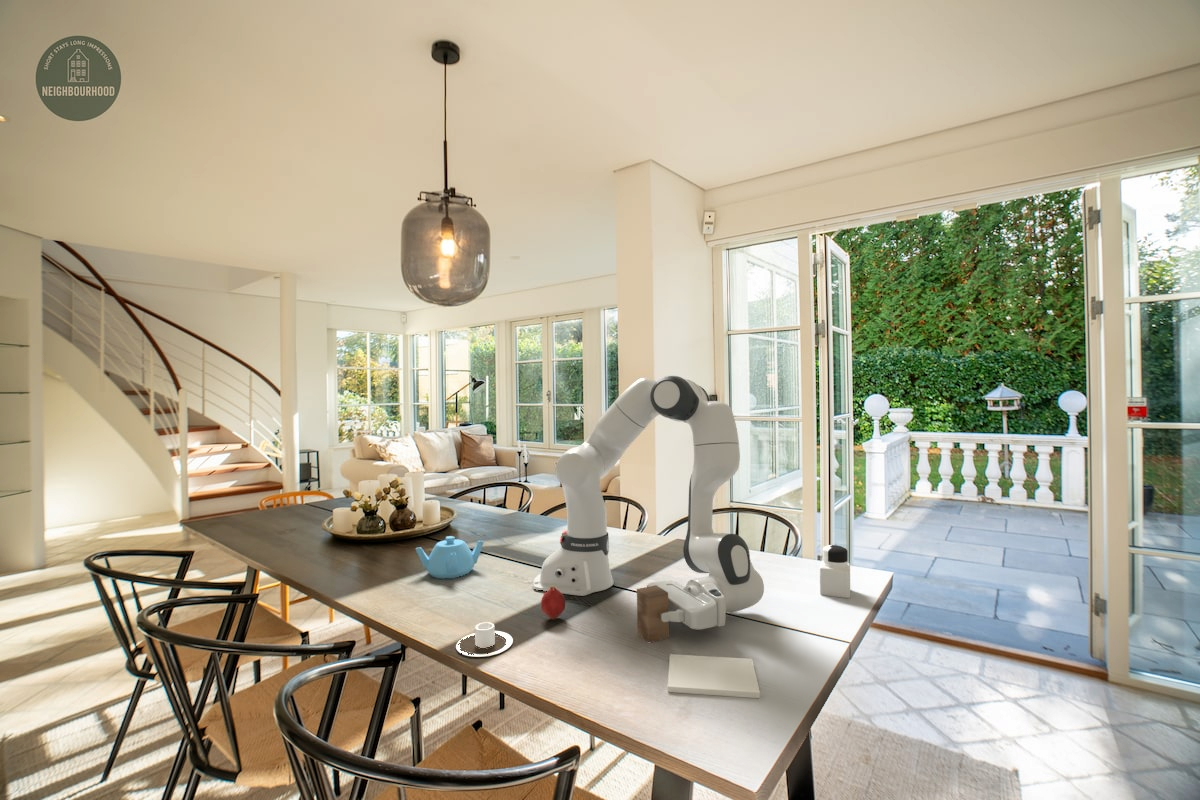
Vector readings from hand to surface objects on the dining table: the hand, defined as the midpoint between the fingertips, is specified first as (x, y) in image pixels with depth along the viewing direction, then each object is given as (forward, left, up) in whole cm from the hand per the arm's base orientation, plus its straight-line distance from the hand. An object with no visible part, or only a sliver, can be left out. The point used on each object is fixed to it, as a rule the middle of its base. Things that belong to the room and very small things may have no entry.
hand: (649, 609), depth 120 cm
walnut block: (+1, 0, -6) cm, 6 cm away
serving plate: (+13, -16, -6) cm, 21 cm away
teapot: (-62, +35, -6) cm, 72 cm away
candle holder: (-35, -8, -7) cm, 37 cm away
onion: (-23, +6, -6) cm, 25 cm away
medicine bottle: (+47, +31, -6) cm, 57 cm away
